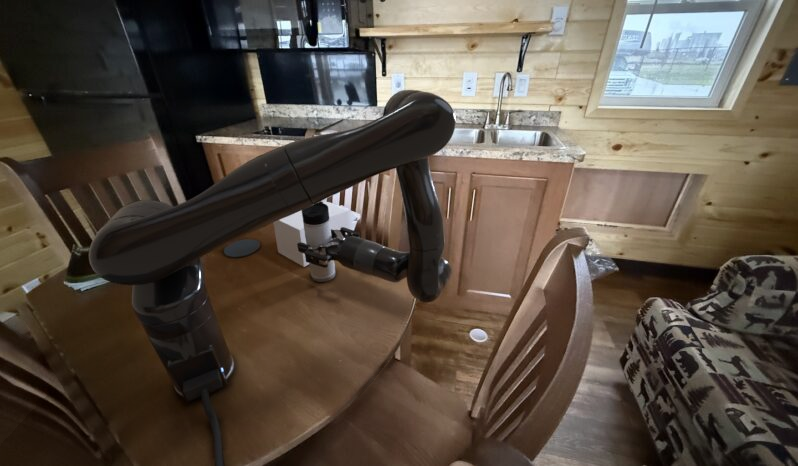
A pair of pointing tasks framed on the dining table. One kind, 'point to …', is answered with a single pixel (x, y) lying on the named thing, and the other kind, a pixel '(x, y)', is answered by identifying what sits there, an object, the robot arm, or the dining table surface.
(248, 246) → the coaster
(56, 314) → the dining table surface
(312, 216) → the travel mug
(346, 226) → the white box
